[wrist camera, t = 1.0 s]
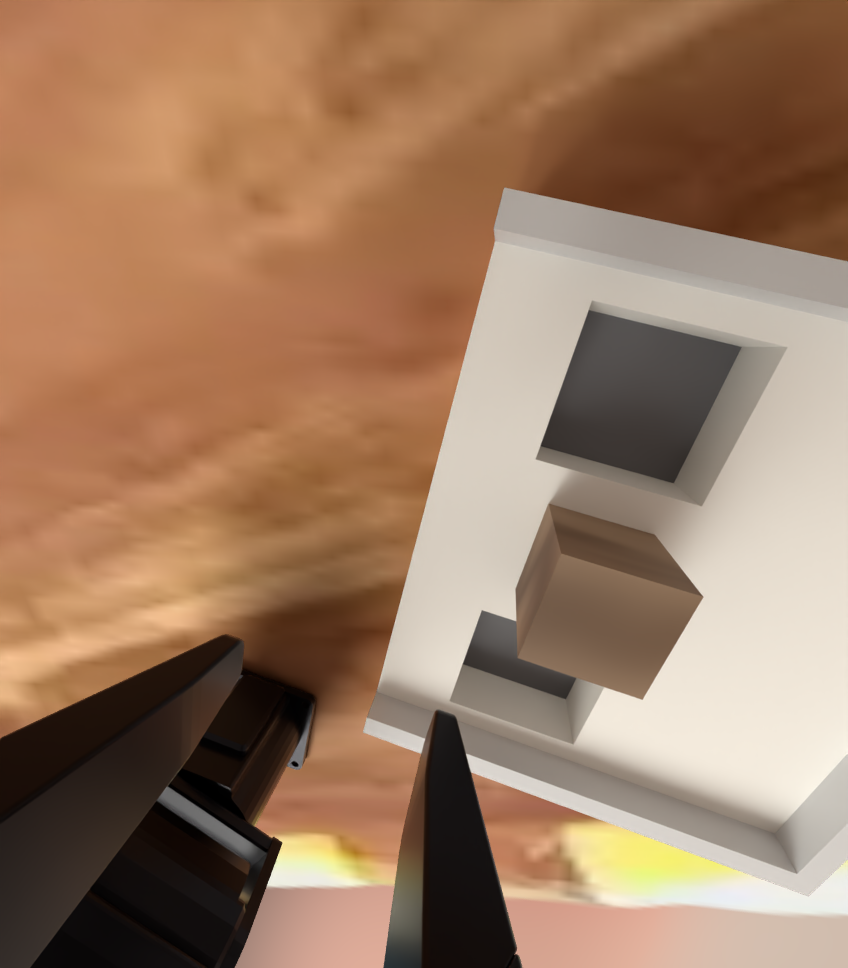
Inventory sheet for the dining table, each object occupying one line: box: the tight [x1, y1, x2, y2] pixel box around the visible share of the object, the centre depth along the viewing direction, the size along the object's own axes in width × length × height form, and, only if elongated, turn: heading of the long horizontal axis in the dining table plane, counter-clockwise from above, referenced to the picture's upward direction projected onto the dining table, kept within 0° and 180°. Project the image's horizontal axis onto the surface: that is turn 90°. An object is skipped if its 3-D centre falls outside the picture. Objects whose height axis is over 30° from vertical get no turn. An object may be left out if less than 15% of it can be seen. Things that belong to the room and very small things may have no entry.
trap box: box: [363, 188, 848, 896], centre depth 16 cm, size 22×20×4 cm
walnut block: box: [515, 503, 703, 700], centre depth 14 cm, size 4×4×4 cm
